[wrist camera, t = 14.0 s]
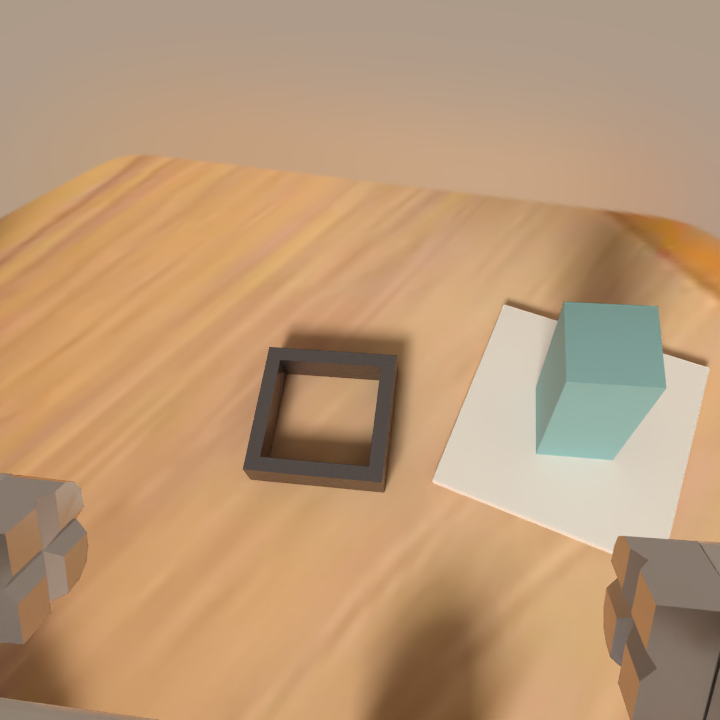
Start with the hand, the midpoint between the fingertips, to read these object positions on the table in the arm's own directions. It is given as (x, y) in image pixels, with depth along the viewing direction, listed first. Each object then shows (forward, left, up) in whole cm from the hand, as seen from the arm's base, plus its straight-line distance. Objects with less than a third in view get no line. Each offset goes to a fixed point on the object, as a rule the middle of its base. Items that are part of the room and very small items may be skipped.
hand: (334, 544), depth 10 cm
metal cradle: (-9, +10, -25) cm, 28 cm away
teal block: (+4, +15, -24) cm, 29 cm away
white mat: (+4, +15, -25) cm, 29 cm away
